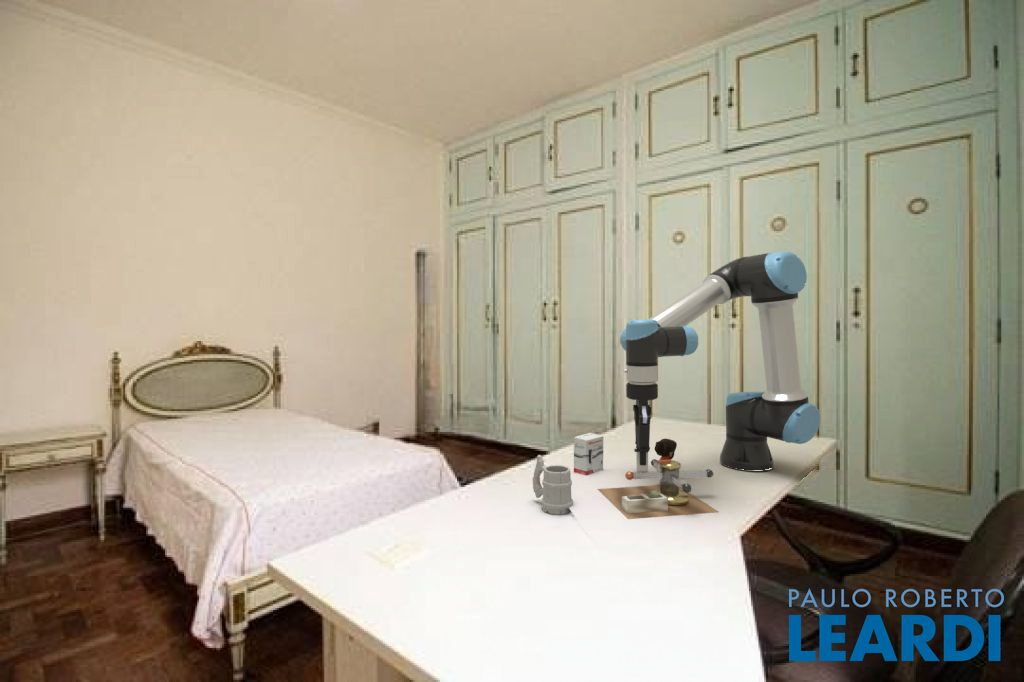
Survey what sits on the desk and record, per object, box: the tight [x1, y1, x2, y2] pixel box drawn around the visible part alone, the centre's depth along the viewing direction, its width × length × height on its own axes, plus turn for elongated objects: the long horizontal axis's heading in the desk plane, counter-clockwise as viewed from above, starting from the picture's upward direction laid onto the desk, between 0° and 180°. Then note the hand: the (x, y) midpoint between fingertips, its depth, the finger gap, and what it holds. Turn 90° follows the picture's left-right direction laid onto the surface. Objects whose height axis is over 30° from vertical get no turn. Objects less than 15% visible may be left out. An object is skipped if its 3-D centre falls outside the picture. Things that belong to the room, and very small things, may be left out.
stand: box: [597, 484, 720, 520], centre depth 119 cm, size 22×20×6 cm
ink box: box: [573, 432, 604, 476], centre depth 143 cm, size 8×5×12 cm, turn 134°
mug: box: [532, 454, 574, 516], centre depth 118 cm, size 8×12×12 cm, turn 43°
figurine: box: [654, 438, 678, 471], centre depth 137 cm, size 6×6×12 cm
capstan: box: [624, 458, 714, 505], centre depth 119 cm, size 22×22×9 cm
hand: (642, 476), depth 120 cm, fingers closed
